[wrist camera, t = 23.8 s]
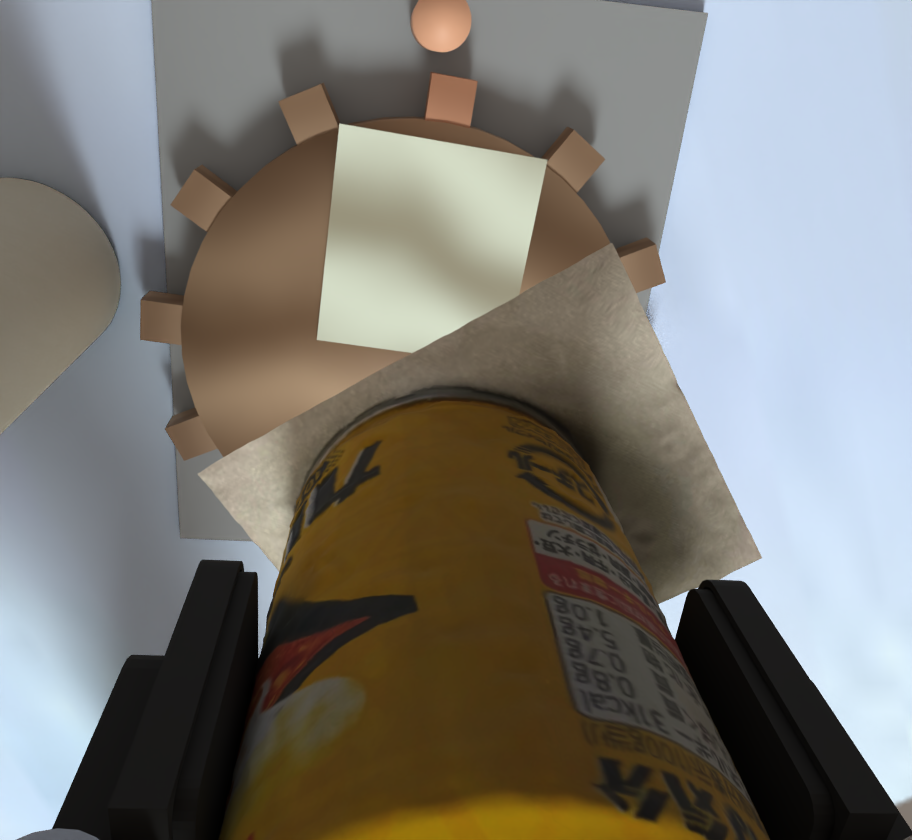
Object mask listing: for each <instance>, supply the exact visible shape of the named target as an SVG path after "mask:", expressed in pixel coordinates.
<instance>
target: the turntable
mask: <svg viewBox="0 0 912 840" xmlns="http://www.w3.org/2000/svg"><path fill="white" fill-rule="evenodd" d="M477 83H478V81H476V80H472V79H467V78H462V77H456V76H451V75H445V74H440V73H435V72H431V73H430V80H429V87H428V93H427V100H426V107H425V114H424V117H415V116H412V117H382V118H376V119H371V120H365V121H359V122H353V123H349V124H341V123H340V121H339V119H338V116H337V114H336V111H335V109H334V106H333V104H332V101H331V99H330V97H329V94H328V92H327V89H326V87H325V84H324V83H321V84H319V85H317V86H314V87H312V88H309V89H307V90H304V91H302V92H299V93H297V94H295V95H292V96H290V97H287V98H285V99H282V100H280V101H278V102H279V105H280V107H281V109H282V112H283V114H284V116H285V118H286V121H287V123H288V125H289V128H290V130H291V132H292V135H293V137H294V139H295V141H296V144H297V145H295V146H293V147H291V148H290V149H288V150H287V151H285V152H284V153H282V154H281V155H279V156H278V157H276V158H275V159H274V160H272V161H271V162H269V163H268V164H266V165H265V166H264V167H263V168H262V169H261V170H260V171H259V172H258V173H257V174H255V175H254V176H253V177H252V178H251V179H250V180H249V181H248V182H247V183H246V184H245V185H243V186H242V187H241V188H240V189H239V190H238V191H236V190H235V189H234V188H232V187H231V186H230V185H228V184H227V183H226V182H224V181H223V180H222V179H220V178H219V177H218V176H216V175H215V174H214V173H212V172H211V171H210V170H209V169H207V168H206V167H205V166H203V165H200V166H199V167H197V168H196V169H194V170H193V172H192V173H191V175H190V176H189V178H188V179H187V181H186V182H185V184H184V185H183V187H182V188H181V190H180V191H179V193H178V194H177V196H176V197H175V199H174V200H173V201H172V203H171V204H170V205H171V206H172V207H173V208H175V209H176V210H178V211H179V212H180V213H182V214H183V215H184V216H186V217H187V218H189V219H190V220H191V221H193V222H194V223H195V224H197V225H198V226H199V227H201V228H202V229H204V230H205V231H206V232H208V233H207V234H206V236H205V238H204V239H203V241H202V244H201V246H200V248H199V251H198V253H197V256H196V258H195V260H194V263H193V265H192V268H191V271H190V275H189V279H188V283H187V287H186V291H185V294H184V295H177V294H170V293H163V292H156V291H149V292H148V293H147V294H146V295H145V296H144V297H143V298H142V299H141V319H140V340H146V341H154V342H161V343H169V344H176V345H182V358H183V363H184V369H185V374H186V380H187V384H188V387H189V390H190V393H191V396H192V399H193V402H194V405H195V408H192V409H189V410H187V411H184V412H181V413H179V414H176V415H174V416H172V418H171V419H170V421H169V423H168V424H167V426H166V428H165V430H166V431H167V433H168V435H169V437H170V438H171V440H172V442H173V443H174V445H175V447H176V448H177V450H178V452H179V453H180V455H181V457H182V458H183V460H184V461H185V460H188V459H191V458H193V457H196V456H199V455H202V454H204V453H207V452H210V451H212V450H215V449H218V450H219V451H220V453H221V454H222V456H223V457H225V456H227V455H229V454H230V453H232V452H233V451H235V450H237V449H239V448H241V447H242V446H244V445H246V444H247V443H249V442H251V441H253V440H256V439H258V438H260V437H262V436H263V435H265V434H267V433H268V432H270V431H272V430H273V429H275V428H276V427H278V426H280V425H282V424H283V423H285V422H287V421H289V420H291V419H292V418H294V417H296V416H298V415H300V414H302V413H304V412H306V411H308V410H309V409H311V408H313V407H314V406H316V405H318V404H320V403H321V402H323V401H325V400H327V399H329V398H331V397H333V396H335V395H337V394H338V393H340V392H342V391H343V390H345V389H347V388H349V387H351V386H352V385H354V384H356V383H358V382H359V381H361V380H363V379H365V378H366V377H368V376H370V375H372V374H374V373H376V372H377V371H379V370H381V369H383V368H385V367H387V366H389V365H391V364H392V363H394V362H396V361H398V360H400V359H402V358H404V357H406V356H408V355H410V354H412V353H413V352H415V351H417V350H419V349H421V348H423V347H425V346H427V345H429V344H430V343H432V342H434V341H436V340H437V339H439V338H441V337H443V336H445V335H448V334H450V333H452V332H454V331H455V330H457V329H459V328H461V327H462V326H464V325H465V324H467V323H468V322H470V321H472V320H474V319H476V318H478V317H480V316H482V315H484V314H486V313H487V312H489V311H491V310H493V309H494V308H496V307H498V306H500V305H502V304H504V303H506V302H508V301H510V300H512V299H513V298H515V297H517V296H518V295H520V294H521V293H523V292H524V291H526V290H527V289H529V288H531V287H533V286H535V285H536V284H538V283H540V282H542V281H544V280H546V279H548V278H550V277H552V276H554V275H556V274H558V273H559V272H561V271H563V270H565V269H567V268H569V267H570V266H572V265H574V264H576V263H577V262H579V261H580V260H582V259H584V258H585V257H587V256H589V255H591V254H592V253H594V252H596V251H598V250H600V249H602V248H603V247H605V246H607V245H609V244H610V241H609V239H608V237H607V236H606V234H605V232H604V230H603V228H602V226H601V224H600V223H599V222H598V220H597V219H596V217H595V216H594V215H593V213H592V212H591V211H590V209H589V208H588V206H587V205H586V204H585V202H584V201H583V200H582V199H581V198H580V197H579V196H578V195H577V194H576V193H577V192H578V191H579V190H580V189H581V187H582V186H583V185H584V184H585V183H586V182H587V180H588V179H589V178H590V177H591V176H592V175H593V173H594V172H595V171H596V170H597V169H598V168H599V166H600V165H601V164H602V163H603V162H604V161H605V158H604V157H603V156H602V155H601V154H599V153H598V152H597V151H596V150H595V149H594V148H593V147H592V146H591V145H590V144H589V143H588V142H587V141H586V140H584V139H583V138H582V137H581V136H580V135H579V134H578V133H577V132H576V131H575V130H574V129H571V128H569V127H566V129H565V130H564V131H563V132H562V133H561V135H560V136H559V137H558V138H557V139H556V141H555V142H554V143H553V144H552V146H551V147H550V148H549V149H548V150H547V152H546V153H545V154H544V155H543V156H542V158H536V157H534V156H533V155H531V154H530V153H528V152H526V151H525V150H523V149H521V148H519V147H518V146H516V145H514V144H512V143H511V142H509V141H507V140H506V139H503V138H501V137H498V136H496V135H494V134H491V133H489V132H486V131H484V130H481V129H479V128H476V127H472V126H470V124H471V118H472V112H473V106H474V100H475V95H476V89H477ZM616 251H617V253H618V256H619V258H620V260H621V262H622V264H623V266H624V268H625V270H626V272H627V275H628V277H629V279H630V281H631V283H632V285H633V287H634V289H635V292H636V293H638V292H641V291H644V290H646V289H649V288H652V287H654V286H657V285H660V284H663V283H665V282H666V281H665V277H664V274H663V270H662V266H661V262H660V258H659V254H658V250H657V246H656V244H655V243H654V242H652V241H651V240H650V239H648V238H647V237H646V238H643V239H641V240H638V241H635V242H633V243H630V244H627V245H625V246H622V247H619V248H617V249H616Z"/></svg>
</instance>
